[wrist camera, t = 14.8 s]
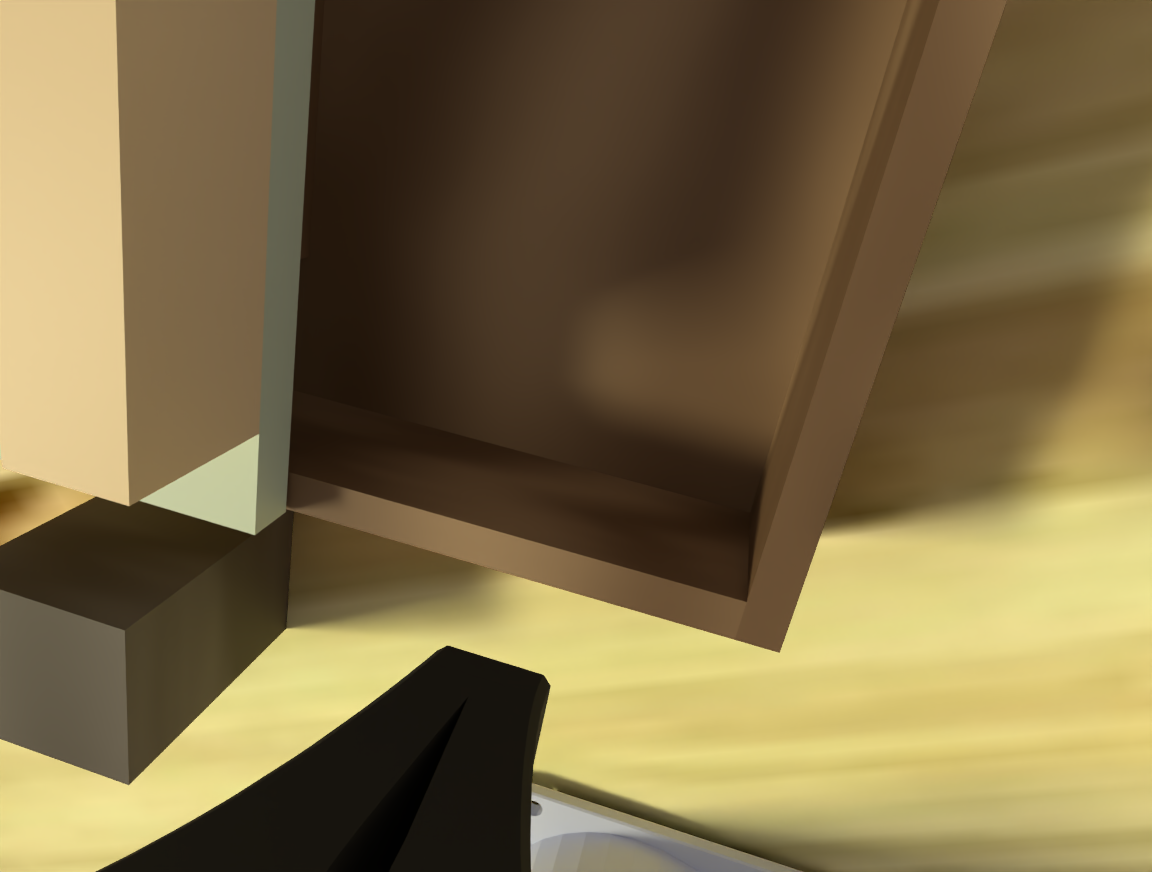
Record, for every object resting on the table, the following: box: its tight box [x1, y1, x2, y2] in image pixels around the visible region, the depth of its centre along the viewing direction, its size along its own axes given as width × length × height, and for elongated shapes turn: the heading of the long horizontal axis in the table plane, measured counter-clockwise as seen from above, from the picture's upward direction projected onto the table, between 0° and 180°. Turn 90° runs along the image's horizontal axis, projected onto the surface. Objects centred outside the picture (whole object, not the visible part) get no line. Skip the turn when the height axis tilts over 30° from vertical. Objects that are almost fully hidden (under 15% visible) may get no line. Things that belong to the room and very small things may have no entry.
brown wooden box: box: [286, 0, 1007, 653], centre depth 15 cm, size 18×14×4 cm
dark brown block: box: [0, 497, 294, 785], centre depth 19 cm, size 4×4×6 cm
